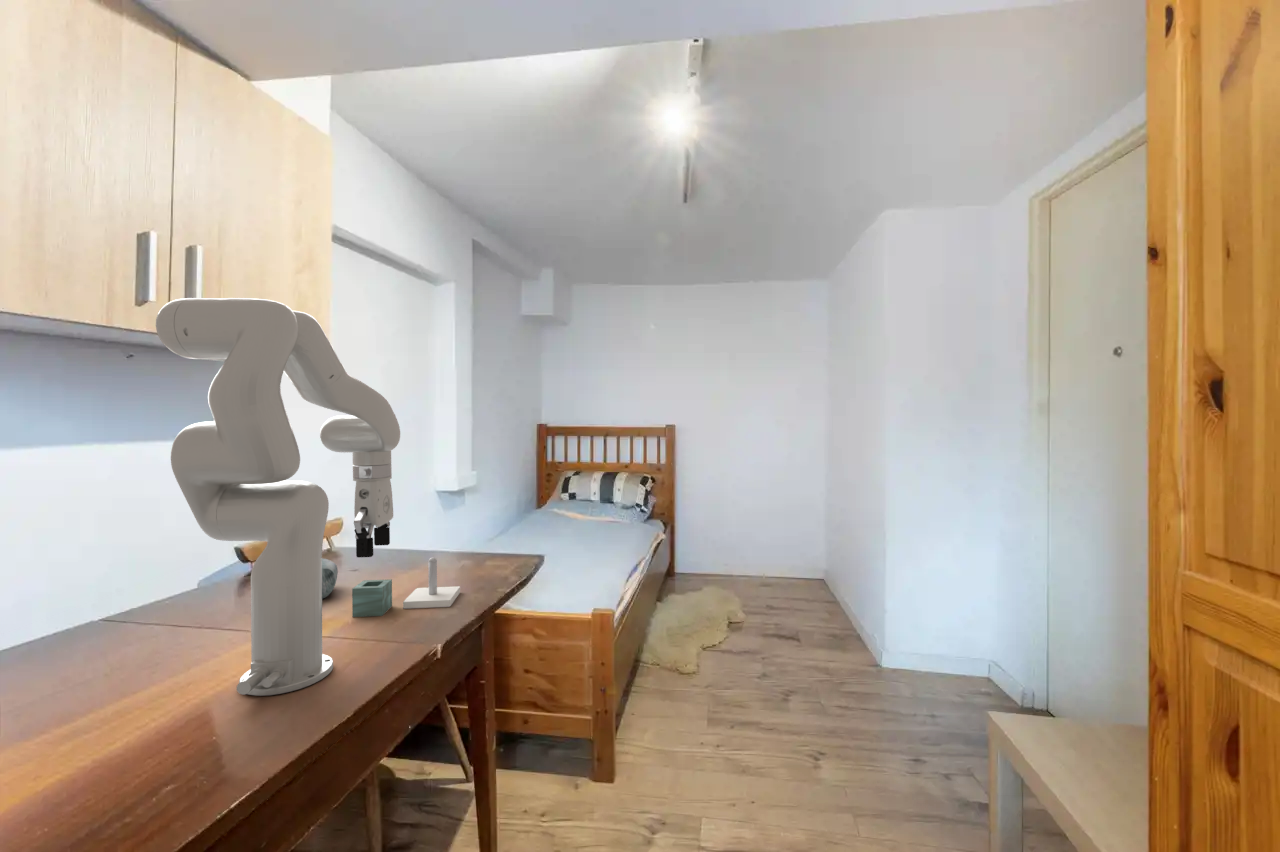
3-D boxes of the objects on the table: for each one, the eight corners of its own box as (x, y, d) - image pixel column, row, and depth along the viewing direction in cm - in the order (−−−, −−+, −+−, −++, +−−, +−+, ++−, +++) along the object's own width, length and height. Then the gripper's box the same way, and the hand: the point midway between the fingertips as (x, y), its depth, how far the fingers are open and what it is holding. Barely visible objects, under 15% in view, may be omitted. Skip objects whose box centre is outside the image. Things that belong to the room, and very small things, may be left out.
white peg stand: (450, 606, 118) (449, 562, 118) (403, 608, 117) (402, 563, 117) (460, 592, 128) (459, 551, 128) (416, 594, 127) (416, 552, 127)
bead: (382, 615, 113) (382, 587, 113) (352, 617, 112) (352, 588, 112) (392, 606, 119) (391, 579, 119) (363, 607, 118) (363, 580, 118)
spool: (345, 585, 124) (323, 548, 124) (302, 610, 119) (279, 572, 119) (349, 583, 136) (329, 550, 136) (310, 606, 131) (289, 572, 131)
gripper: (375, 477, 107) (377, 561, 108) (403, 468, 125) (404, 540, 125) (336, 478, 107) (337, 562, 107) (369, 468, 124) (371, 541, 124)
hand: (373, 550), depth 116 cm, fingers open, 9 cm apart
